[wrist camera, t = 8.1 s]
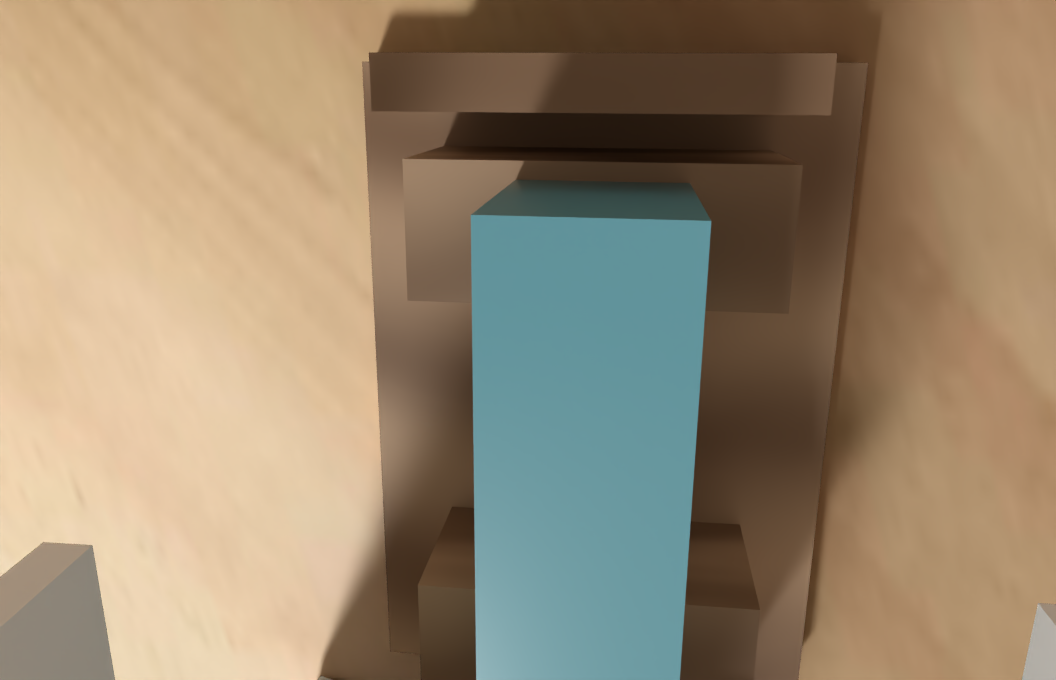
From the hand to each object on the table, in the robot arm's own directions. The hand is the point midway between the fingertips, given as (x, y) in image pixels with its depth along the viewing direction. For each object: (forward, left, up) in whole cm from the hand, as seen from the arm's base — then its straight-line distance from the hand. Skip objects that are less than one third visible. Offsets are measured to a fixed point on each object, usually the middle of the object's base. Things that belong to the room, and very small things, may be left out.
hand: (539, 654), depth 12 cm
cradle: (0, 0, -12) cm, 12 cm away
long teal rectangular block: (+1, 0, -7) cm, 7 cm away
